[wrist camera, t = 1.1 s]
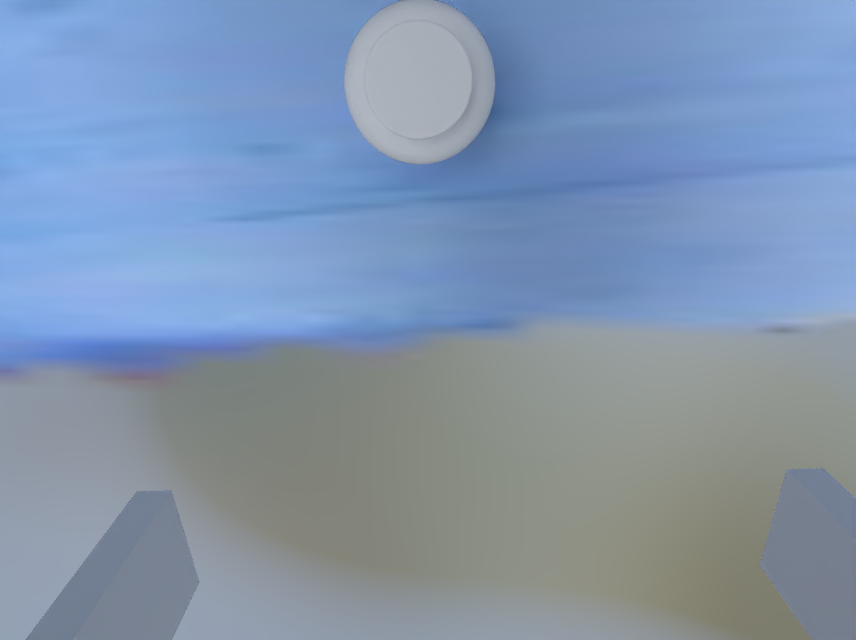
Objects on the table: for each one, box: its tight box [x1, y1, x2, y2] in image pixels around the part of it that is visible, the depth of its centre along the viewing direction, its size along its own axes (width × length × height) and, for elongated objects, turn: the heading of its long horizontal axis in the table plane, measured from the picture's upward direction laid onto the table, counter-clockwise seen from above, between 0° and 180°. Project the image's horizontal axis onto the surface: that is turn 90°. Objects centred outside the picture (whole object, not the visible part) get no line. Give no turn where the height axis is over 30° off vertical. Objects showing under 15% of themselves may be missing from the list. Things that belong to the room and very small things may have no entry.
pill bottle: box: [344, 0, 495, 164], centre depth 28 cm, size 8×7×14 cm
